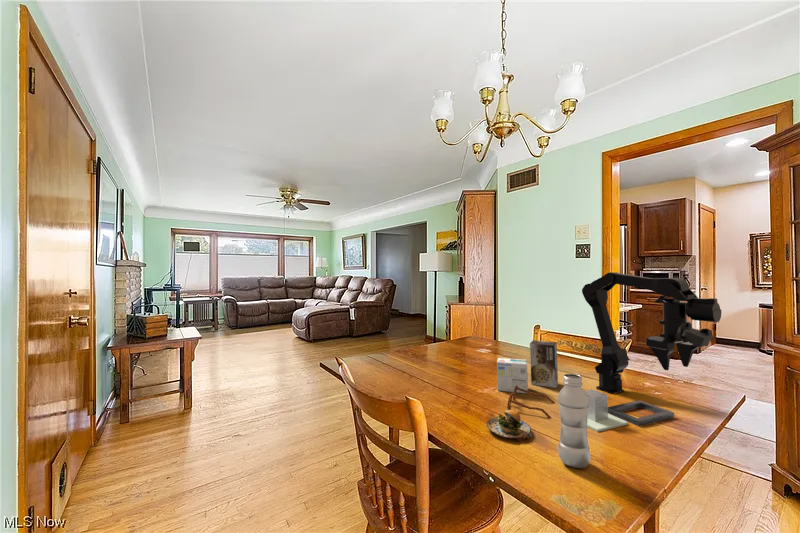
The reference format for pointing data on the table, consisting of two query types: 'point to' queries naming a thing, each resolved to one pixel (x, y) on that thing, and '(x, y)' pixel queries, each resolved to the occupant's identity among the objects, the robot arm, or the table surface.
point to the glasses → (525, 405)
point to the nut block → (597, 405)
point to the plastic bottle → (573, 423)
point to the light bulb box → (512, 374)
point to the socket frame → (659, 416)
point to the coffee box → (544, 363)
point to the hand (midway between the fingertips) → (675, 368)
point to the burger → (510, 426)
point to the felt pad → (606, 423)
